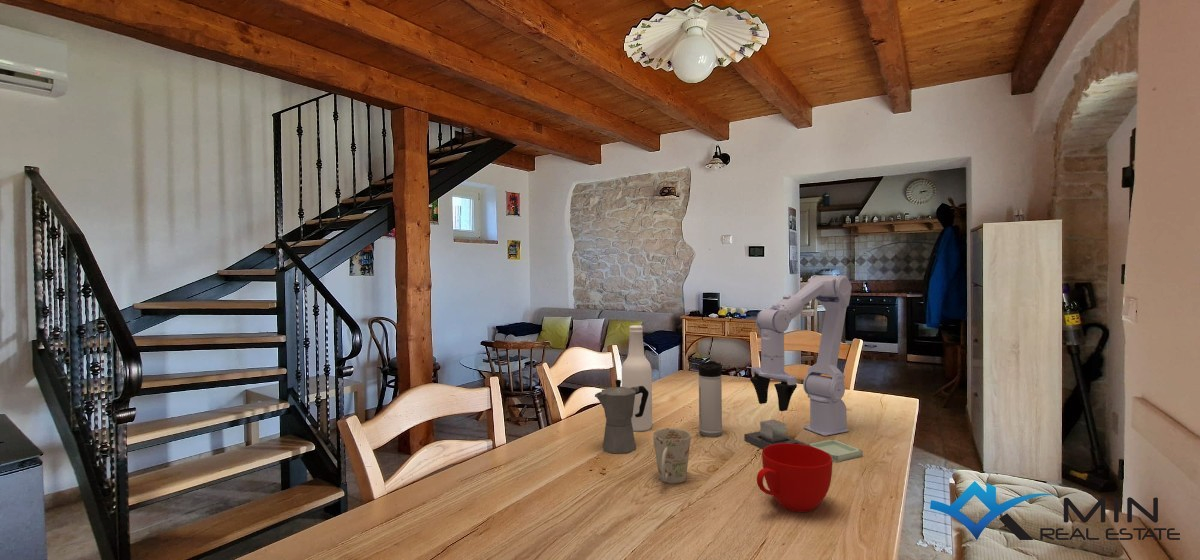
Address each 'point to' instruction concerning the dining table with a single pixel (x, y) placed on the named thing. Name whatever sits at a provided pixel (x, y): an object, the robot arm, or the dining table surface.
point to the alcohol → (638, 378)
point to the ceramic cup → (796, 475)
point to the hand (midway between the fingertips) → (772, 406)
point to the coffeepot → (620, 416)
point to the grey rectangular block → (773, 431)
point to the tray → (838, 450)
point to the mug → (672, 454)
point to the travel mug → (710, 399)
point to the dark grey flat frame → (757, 441)
